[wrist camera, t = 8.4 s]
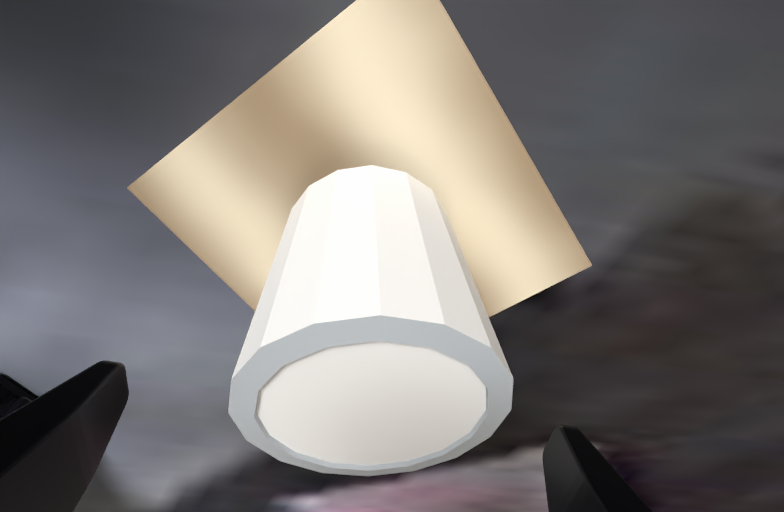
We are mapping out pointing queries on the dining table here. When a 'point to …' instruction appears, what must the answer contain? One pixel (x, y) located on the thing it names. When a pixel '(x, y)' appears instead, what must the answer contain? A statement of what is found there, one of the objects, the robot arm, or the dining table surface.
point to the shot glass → (369, 335)
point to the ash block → (367, 153)
